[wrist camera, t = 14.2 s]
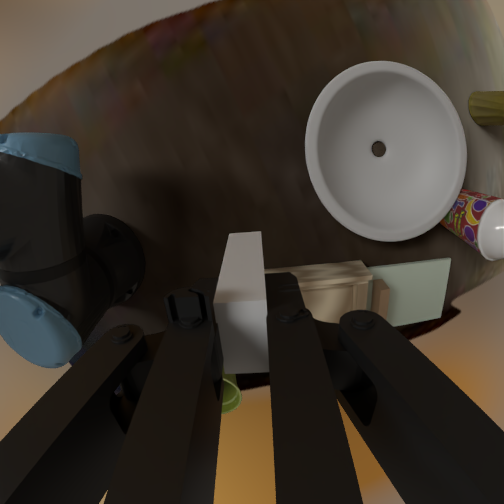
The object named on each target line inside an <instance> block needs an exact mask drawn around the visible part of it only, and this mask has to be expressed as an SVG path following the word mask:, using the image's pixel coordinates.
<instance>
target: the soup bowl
mask: <svg viewBox="0 0 504 504" xmlns="http://www.w3.org/2000/svg"><path fill="white" fill-rule="evenodd" d="M376 141H381V142H383V143H384V144H385V146H386V153H385V155H384V156H382V157H376V156H374V155H373V153H372V145H373V143H374V142H376ZM305 155H306V163H307V168H308V172H309V176H310V179H311V182H312V184H313V187H314V189H315V191H316V193H317V195H318V197H319V199H320V200H321V202H322V203H323V205H324V206H325V207H326V209H327V210H328V211H329V213H330V214H331V215H332V216H333V217H334V218H335V219H336V220H337V221H339V222H340V223H341V224H342V225H343V226H345V227H346V228H348V229H349V230H351V231H353V232H354V233H356V234H358V235H361V236H363V237H366V238H369V239H373V240H378V241H386V242H395V241H403V240H407V239H411V238H414V237H417V236H419V235H421V234H423V233H425V232H427V231H428V230H430V229H431V228H433V227H434V226H435V225H436V224H438V223H439V222H440V221H441V220H442V219H443V218H444V217H445V216H446V215H447V213H448V212H449V211H450V209H451V208H452V206H453V205H454V203H455V201H456V199H457V197H458V195H459V193H460V191H461V188H462V185H463V182H464V178H465V173H466V166H467V146H466V139H465V134H464V130H463V126H462V123H461V121H460V118H459V116H458V113H457V111H456V109H455V107H454V106H453V104H452V102H451V101H450V99H449V98H448V97H447V95H446V94H445V93H444V92H443V90H442V89H441V88H440V87H439V86H438V85H437V84H436V83H435V82H434V81H432V80H431V79H430V78H429V77H427V76H426V75H424V74H423V73H421V72H419V71H418V70H416V69H414V68H411V67H409V66H407V65H403V64H400V63H395V62H389V61H372V62H366V63H362V64H358V65H356V66H353V67H351V68H349V69H347V70H345V71H343V72H342V73H340V74H339V75H337V76H336V77H335V78H334V79H333V80H332V81H330V82H329V83H328V85H327V86H326V87H325V88H324V89H323V91H322V92H321V93H320V95H319V96H318V98H317V100H316V102H315V104H314V106H313V108H312V111H311V113H310V116H309V120H308V123H307V129H306V136H305Z"/></svg>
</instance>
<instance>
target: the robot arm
mask: <svg viewBox="0 0 504 504" xmlns="http://www.w3.org/2000/svg"><path fill="white" fill-rule="evenodd" d="M81 179H82V174H81V173H80V161H79V148H78V145H77V143H76V142H75V140H73V139H72V138H71V137H68V136H65V135H59V134H49V133H10V134H0V284H1V286H0V335H1V336H2V337H3V339H4V340H5V341H6V343H7V344H8V345H9V346H10V347H11V348H12V349H13V350H15V351H16V352H17V353H18V354H19V355H20V356H22V357H23V358H25V359H26V360H28V361H29V362H31V363H33V364H36V365H38V366H41V367H45V368H58V367H62V366H64V365H65V364H67V363H68V362H69V360H70V359H71V358H72V357H73V356H74V354H75V353H77V352H78V351H80V349H81V347H82V345H83V344H84V342H85V341H86V339H87V338H88V336H89V335H90V333H91V332H92V331H93V329H94V328H95V326H96V325H97V324H98V322H99V321H100V319H101V318H102V317H103V315H104V314H105V312H106V311H107V310H108V309H109V308H112V307H114V306H116V305H118V304H121V303H123V302H125V301H126V300H128V299H129V298H130V297H131V296H132V295H133V294H134V293H135V291H136V290H137V289H138V287H139V286H140V284H141V282H142V280H143V277H144V272H145V259H144V254H143V250H142V247H141V245H140V243H139V241H138V239H137V238H136V236H135V235H134V233H133V232H132V231H131V230H130V229H129V228H128V227H127V226H126V225H125V224H124V223H122V222H121V221H119V220H118V219H116V218H114V217H111V216H108V215H103V214H93V215H89V216H86V217H84V218H83V213H82V195H81ZM163 299H164V303H165V307H166V312H167V316H168V320H169V324H168V326H167V329H166V331H163V332H160V333H156V334H151V335H146V336H144V333H143V330H142V329H141V328H140V327H139V326H137V325H134V324H123V325H119V326H117V327H114V328H112V329H110V330H109V331H108V332H106V333H105V334H104V335H103V336H102V337H101V338H100V339H99V340H98V341H97V342H96V343H95V344H94V345H93V346H92V347H91V348H90V349H89V350H88V351H87V352H86V353H85V354H84V355H83V356H82V357H81V358H80V359H79V360H78V361H77V362H76V363H75V364H74V365H73V366H72V367H71V368H70V369H69V370H68V371H67V372H66V373H65V374H64V375H63V376H62V377H61V378H60V379H59V380H58V381H57V382H56V383H55V384H54V385H53V386H52V387H51V388H50V389H49V390H48V391H47V392H46V393H45V394H44V395H43V396H42V397H41V398H40V400H38V402H37V403H36V404H35V405H34V406H33V407H32V408H31V409H30V410H29V411H28V412H27V413H26V414H25V415H24V416H23V418H21V420H20V421H19V422H18V423H17V424H16V425H15V426H14V427H13V428H12V429H11V431H9V433H8V434H7V435H6V436H5V437H4V438H3V439H2V440H1V441H0V504H99V502H100V501H101V499H102V498H103V496H104V494H105V493H106V491H107V490H108V491H107V494H106V498H105V501H104V504H213V501H214V489H215V477H216V467H217V456H218V445H219V434H220V423H221V413H222V403H223V392H224V381H223V376H222V370H223V366H224V371H225V374H239V373H259V372H269V374H270V392H271V409H272V427H273V446H274V466H275V485H276V486H275V487H276V504H363V501H362V497H361V493H360V488H359V484H358V480H357V476H356V471H355V467H354V463H353V459H352V456H351V452H350V447H349V444H348V440H347V436H346V432H345V428H344V424H343V420H342V417H341V413H340V409H339V406H338V402H337V399H338V401H339V403H340V404H341V406H342V407H343V409H344V410H345V412H346V414H347V415H348V417H349V418H350V420H351V421H352V423H353V424H354V426H355V427H356V429H357V431H358V432H359V434H360V435H361V437H362V438H363V440H364V441H365V443H366V444H367V446H368V447H369V449H370V450H371V452H372V453H373V455H374V457H375V458H376V460H377V461H378V463H379V464H380V466H381V467H382V469H383V470H384V472H385V473H386V475H387V476H388V478H389V479H390V481H391V482H392V484H393V486H394V487H395V488H396V490H397V492H398V493H399V495H400V496H401V498H402V499H403V501H404V502H405V504H504V432H503V430H502V429H501V428H500V427H499V426H498V425H497V424H496V423H495V422H494V421H493V420H492V419H491V418H490V417H489V416H488V415H487V414H485V412H484V411H483V410H482V409H481V408H479V406H478V405H476V404H475V403H474V402H473V401H472V400H471V399H470V398H469V397H468V396H467V395H466V394H465V393H464V392H463V391H462V390H461V389H460V388H459V387H458V386H457V385H456V384H455V383H454V382H453V381H452V380H451V379H449V378H448V377H447V376H446V375H445V374H444V373H443V372H442V371H441V370H440V369H439V368H438V367H437V366H436V365H435V364H434V363H432V362H431V361H430V360H429V359H428V358H427V357H426V356H425V355H424V354H423V353H422V352H421V351H419V350H418V349H417V348H416V347H415V346H414V345H413V344H412V343H411V342H410V341H409V340H407V339H406V338H405V337H404V336H403V335H402V334H401V333H400V332H399V331H398V330H396V329H395V328H394V327H393V326H392V325H391V324H390V323H389V322H388V321H386V320H385V319H384V318H383V317H382V316H380V315H379V314H377V313H375V312H372V311H369V310H353V311H349V312H347V313H345V314H343V315H342V316H341V317H340V321H339V323H329V322H323V321H319V320H316V319H315V318H313V316H312V313H311V312H310V310H309V309H307V308H306V307H305V304H304V301H303V297H302V294H301V290H300V287H299V284H298V280H297V277H296V276H295V275H293V274H292V273H291V272H280V273H266V274H264V263H263V251H262V239H261V231H259V232H245V233H232V234H229V237H228V241H227V245H226V250H225V254H224V258H223V262H222V267H221V271H220V275H219V278H205V279H199V280H198V281H197V282H196V283H194V284H193V286H192V287H183V288H179V289H176V290H173V291H171V292H170V293H168V294H167V295H166V296H165V297H164V298H163ZM119 385H120V387H121V389H122V390H121V391H120V392H119V393H118V394H117V395H116V394H115V393H114V391H115V390H116V388H117V387H118V386H119Z"/></svg>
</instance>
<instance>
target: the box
mask: <svg viewBox="0 0 504 504" xmlns="http://www.w3.org/2000/svg"><path fill="white" fill-rule="evenodd" d="M280 272H291V273H292V274H293V275H295V276H296V277H297V280H298V284H299V287H300V290H301V294H302V297H303V301H304V304H305V307H306V308H307V309H309V310H310V312H311V313H312V316H313V318H315V319H316V320H319V321H323V322H329V323H339V321H340V317H341V316H342V315H343V314H345V313H347V312H349V311H353V310H366V305H367V293H368V280H372V277H373V275H372V274H371V273H370V271H369V270H368V269H367V267H366V266H365V265H364V264H363V262H362V261H361V260H358V261H348V262H338V263H327V264H316V265H306V266H295V267H283V268H272V269H264V274H266V273H280Z"/></svg>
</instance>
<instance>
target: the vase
mask: <svg viewBox="0 0 504 504" xmlns="http://www.w3.org/2000/svg"><path fill="white" fill-rule="evenodd" d="M469 111H470V114H471V117H472V118H473V120H474V121H475V122H476V123H477V124H478V125H481V126H489V125H504V91H486V92H480V91H477V92H474V93H472V94H471V96H470V98H469Z"/></svg>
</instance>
